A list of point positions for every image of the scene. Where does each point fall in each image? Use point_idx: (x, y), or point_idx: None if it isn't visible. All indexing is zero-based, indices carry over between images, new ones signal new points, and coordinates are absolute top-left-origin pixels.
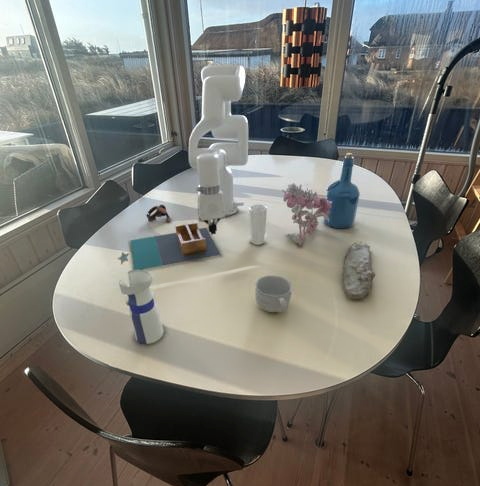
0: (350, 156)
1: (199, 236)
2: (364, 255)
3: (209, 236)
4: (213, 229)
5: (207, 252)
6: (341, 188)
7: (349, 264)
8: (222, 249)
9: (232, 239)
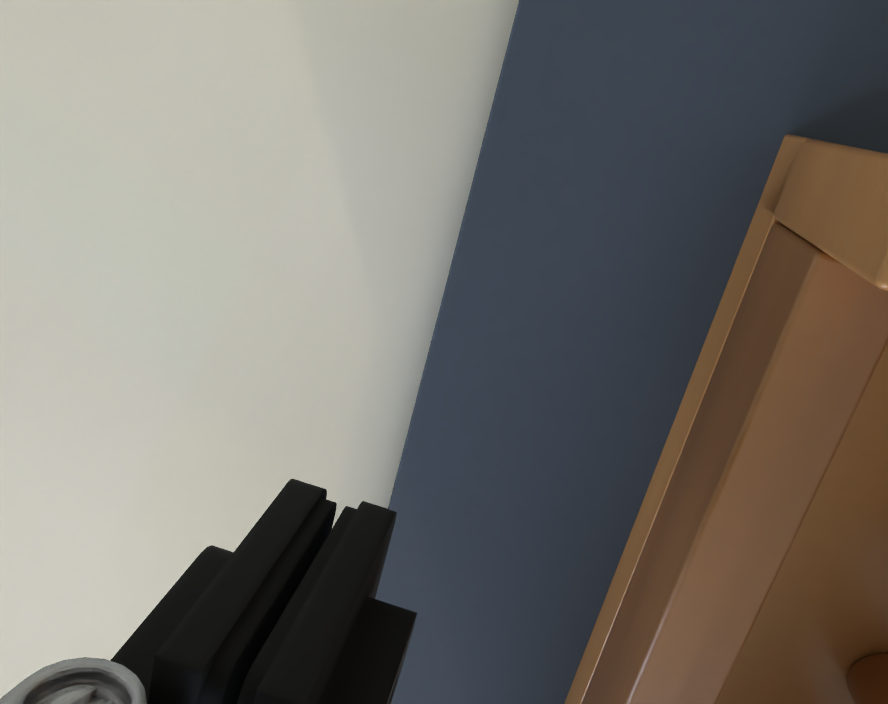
0: None
1: (740, 635)
2: None
3: None
4: (286, 597)
5: (792, 83)
6: None
7: None
8: (386, 63)
9: (34, 310)
